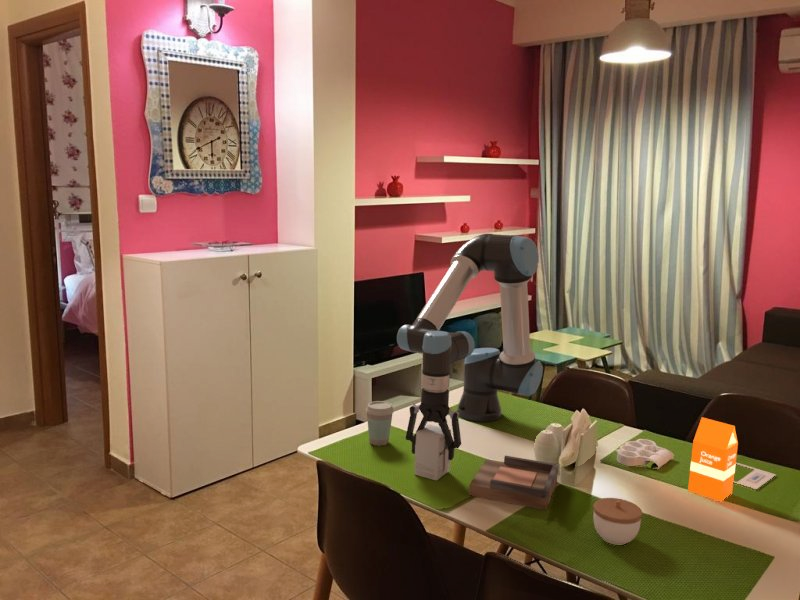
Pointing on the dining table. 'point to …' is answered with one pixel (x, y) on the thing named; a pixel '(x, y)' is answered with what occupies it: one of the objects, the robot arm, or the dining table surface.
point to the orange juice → (713, 459)
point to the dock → (516, 481)
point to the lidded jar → (616, 520)
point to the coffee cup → (379, 422)
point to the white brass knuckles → (642, 453)
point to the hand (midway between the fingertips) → (432, 467)
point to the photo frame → (755, 477)
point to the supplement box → (430, 452)
